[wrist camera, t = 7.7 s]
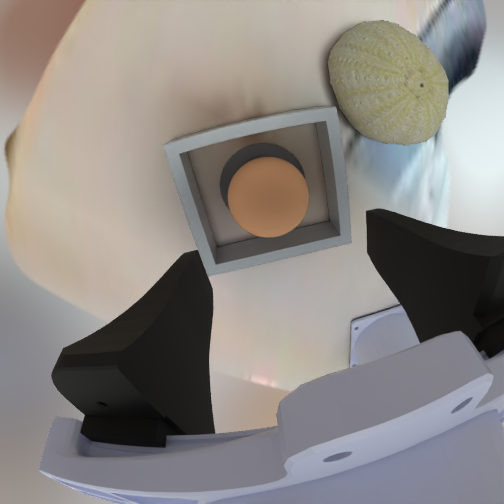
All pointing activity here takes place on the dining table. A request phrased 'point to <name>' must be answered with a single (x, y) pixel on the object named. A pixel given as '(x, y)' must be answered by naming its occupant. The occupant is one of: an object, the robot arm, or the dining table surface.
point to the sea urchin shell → (388, 83)
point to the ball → (268, 197)
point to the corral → (185, 182)
